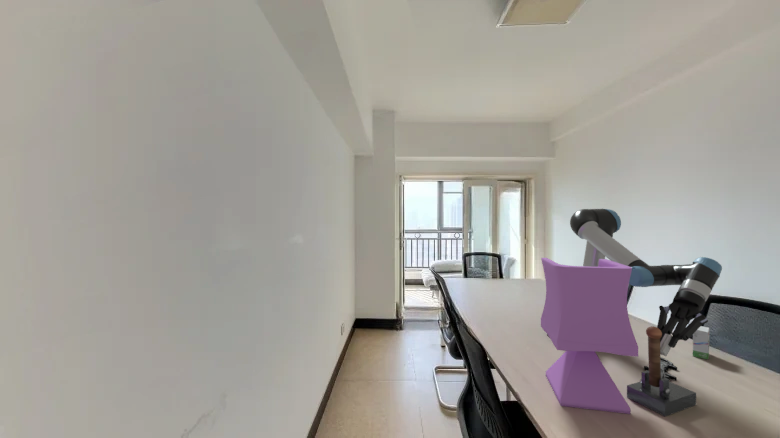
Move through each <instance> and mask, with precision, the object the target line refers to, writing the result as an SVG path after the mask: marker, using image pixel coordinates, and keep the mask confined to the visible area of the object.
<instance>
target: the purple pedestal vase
mask: <svg viewBox="0 0 780 438" xmlns="http://www.w3.org/2000/svg"><path fill="white" fill-rule="evenodd" d="M541 265H542V267H543V273H544V279H545V300H544V306H543V309H542V313H541V317H540V327H541V328H542V330H543V331H544V332H545V333H546V335H547V334H548V335H547V337H549V339H550V340H551V343H552V345H553V346H554V348H556V350H557V351H564V352H563V354H562V355H561V356H559V358H558V359H556V360H555V362H553V363H552V364H551V366H550V367H549V368H547V370H546V371H545V378H546V377H547V378H546V380H547V379H548V380H547V381H549V382H548V383H550V384H549V385H551V386H550V388H551V387H552V388H551V390H552V389H553V390H552V392H553V391H554V392H553V393H554V395H555V397H556V399H557V402H558V403H559V405H560V406H561V407H567V408H573V409H574V408H576V409H577V408H578V409H582V410H583V409H585V410H592V411H593V410H594V411H599V412H600V411H602V412H611V413H620V414H627V415H631V406H630V405H629V404H628V402H627V401H626V399H625V398H624V396H623V395H622V393H621V391H620V390H619V388H618V386H617V385H616V383H615V381H614V380H613V379H612V377H611V376H610V374H609V372H608V370H607V369H606V367H605V365H604V364H603V362H602V361H601V359H600V357H599V356H598V355H597V352H601V353H607V354H613V355H619V356H624V357H625V356H626V357H627V356H628V357H639V345H638V342H637V339H636V337H635V335H634V331H633V328H632V326H631V325H632V324H631V321H630V317H629V311H628V289H629V285H630V284H629V280H630V276H631V271H632V268H631V267H629V266H626V265H623V264H620V263H617V262H614V261H611V260H609V259H608V258H605V259H599V263H598V267H589V266H583V265H566V264H560V263H558V262H555V261H554V260H552V259H550V258H548V257H541Z"/></svg>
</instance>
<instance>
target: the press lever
mask: <svg viewBox="0 0 780 438" xmlns="http://www.w3.org/2000/svg"><path fill="white" fill-rule="evenodd" d="M645 333H646V336H647V349H648V351H647V352H648V357H647V359H648V367H649V384H650V385H651V386H654V387H660V379H661V359H660V357H661V354H660V338H661V337H662V332H661V330H660V329H659V328H657V326H649V327H647V328H646V329H645Z"/></svg>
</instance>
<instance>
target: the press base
mask: <svg viewBox="0 0 780 438" xmlns="http://www.w3.org/2000/svg"><path fill="white" fill-rule="evenodd" d="M626 398H628V399H629V400H631V401H633V402H635V403H637V404H640V405H641V406H643V407H645V408H648V409H650V410H651V411H653V412H655V413H657V414H660V415H661V416H663V417H668V416H670V415H672V414H676V413H678V412H681V411H683V410H686V409H689V408H691V407H694V406H697V392H695V391H693V390H691V389H689V388H685V387H683V386H681V385H680V384H679V385H678V384H676V383H674V382H672V381H669V379H667V378H663V379H662V378H661V379H660V387H654V386H651V385H650V384H649V371H648V370H643V371H641V379H640V380H639V381H637V382H634V383H631V384H627V385H626Z"/></svg>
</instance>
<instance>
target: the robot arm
mask: <svg viewBox="0 0 780 438" xmlns="http://www.w3.org/2000/svg"><path fill="white" fill-rule="evenodd" d="M569 225H570V229H571V230H572V231H573V233H574V234H575V235H576V236H577V237H579V238H580V239H582V240H585V241H586V244H585V249H584V250H585V251H584V257H583V263H582V264H583V265H582V266H589V267H598V263H599V259H607V260H610V261H614V262H617V263H620V264H623V265H626V266H629V267H631V268H632V271H631V276H630V280H629V285H631V286H633V287H635V288H638V287H639V288H648V287H660V286H661V287H665V286H679V288H678V289H677V292H676V294H675V295H674V297H673V299H672V302H671V303H669V304H668V306H663V305H659V306H658V308H659V317H658V321H657V326H656V327H657V328H659V329H660V330H661V332H662V337H661V338H660V356H665V357H668V355H669V352H670V350H671V348H676V345H677V343H678V342H679V341H684V342H686V341H688V340H689V339H690V338H691V337H693V334H694V333H695V332H696V330H697V329H698V328H699V327H700V326H703V325H705V324H707V323H708V322H709V320H708V318H707V317H706V315H704V314H702V312H701V311H702V310H703V308H704V307H705V305H706V302H707V301H708V299H709V297H710V295H711V292H712V291H713V288H714V287H715V284H716V283H717V281H718V279H719V278H721V277H720V275H721V273H722V269H723V266H722V264H720V263H719V261H717V260H715V259H713V258H710V257H703V256H702V257H701V256H700V257H697V258H695V259H694V261H692V263H689V264H688V263H687V264H661V265H649V264H648V263H646V262H645V261H643V259H641V258H640V257H638V256H637V255H636V254H635V253H633V252H632V251H631V250H629V249H628V248H627V247H625V246H624V245H622V243H620V242H619V241H618V240H616V239H615V238H614V236H613V235H614V233H617V232H618V231H619V230H620V229H621V226H622V221H621V218H620V215H619V214H618V213H617V212H616V211H614V210H613V209H608V208H582V209H579V210H577V211H576V212H574V213H572V215H571V217H570V220H569ZM669 312H670V316H669V318H668V314H669ZM691 320H692V321H691ZM546 335H547V336H548V334H547V333H546Z"/></svg>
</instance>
